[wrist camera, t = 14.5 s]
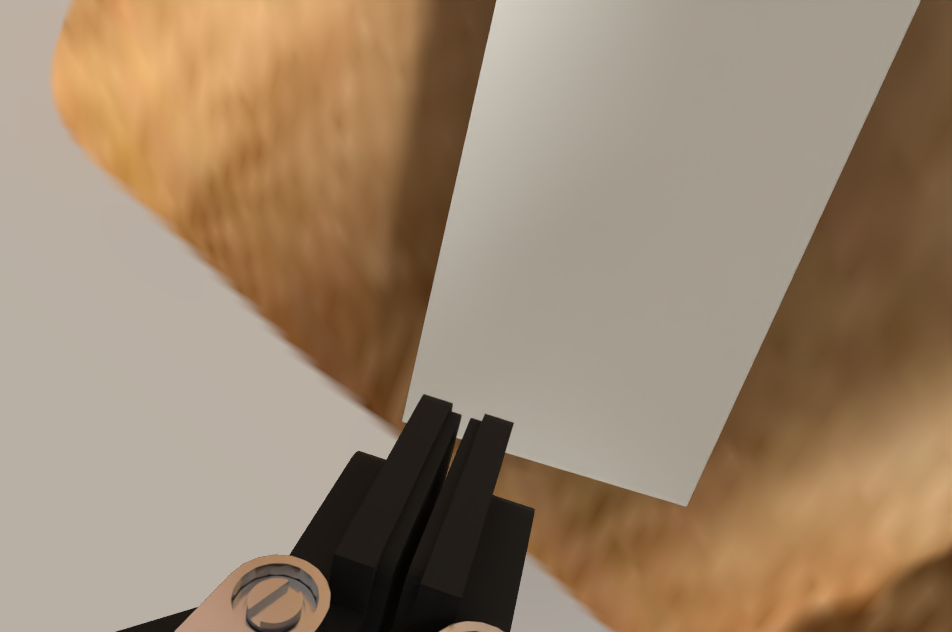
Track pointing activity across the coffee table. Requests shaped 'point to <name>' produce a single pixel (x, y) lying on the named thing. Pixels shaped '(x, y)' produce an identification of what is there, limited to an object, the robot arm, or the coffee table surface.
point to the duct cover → (639, 218)
